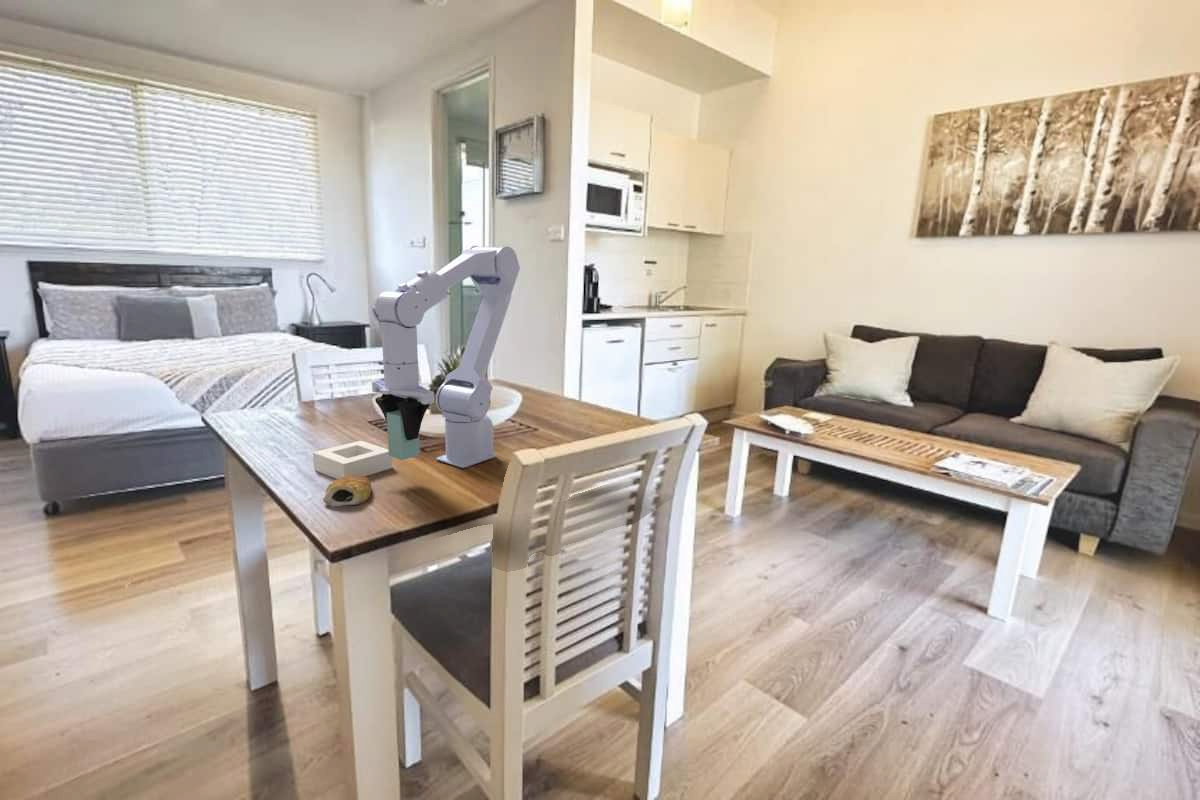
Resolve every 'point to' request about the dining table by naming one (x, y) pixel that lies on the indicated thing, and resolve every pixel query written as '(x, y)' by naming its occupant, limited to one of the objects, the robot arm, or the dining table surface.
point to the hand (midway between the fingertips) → (404, 436)
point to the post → (400, 438)
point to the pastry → (348, 491)
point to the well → (352, 460)
